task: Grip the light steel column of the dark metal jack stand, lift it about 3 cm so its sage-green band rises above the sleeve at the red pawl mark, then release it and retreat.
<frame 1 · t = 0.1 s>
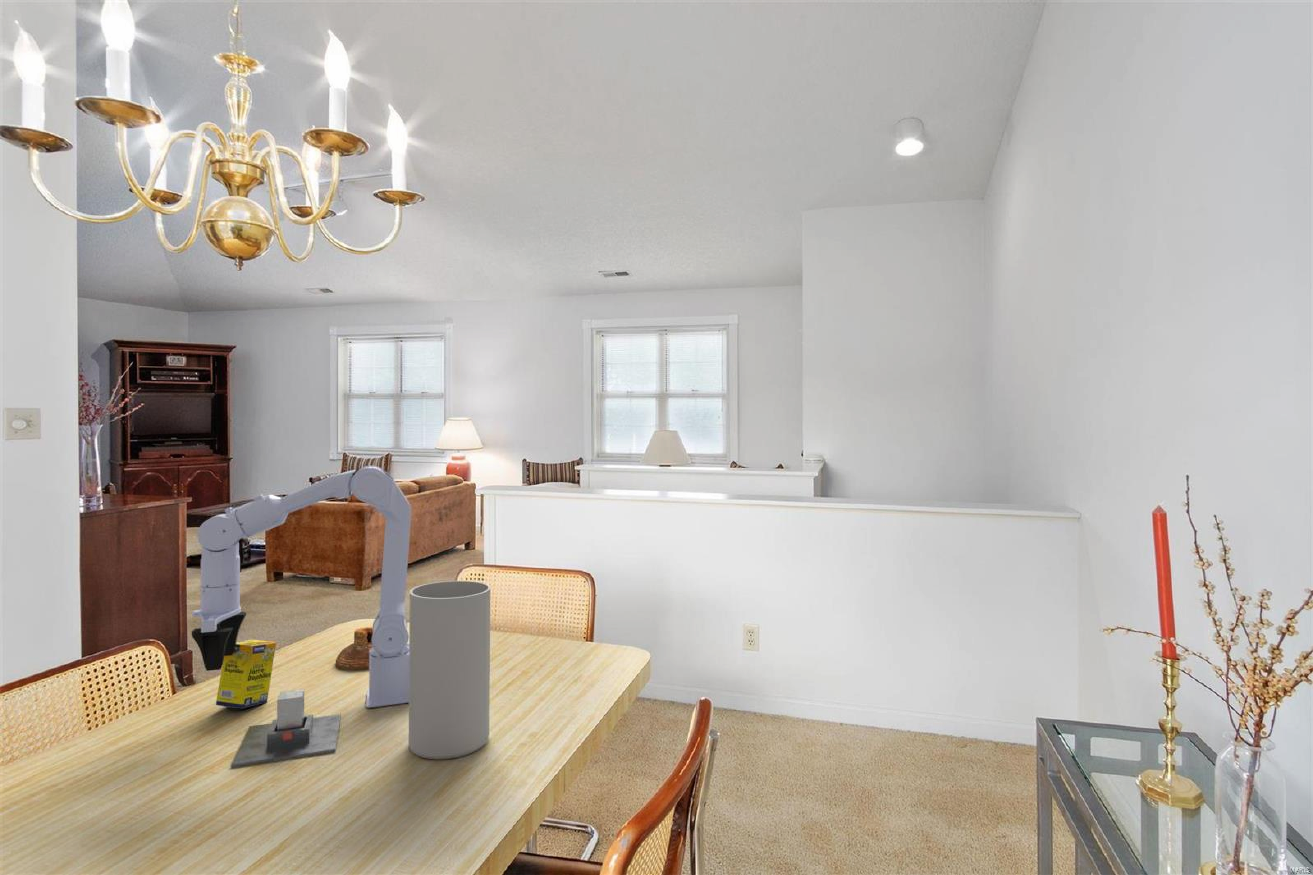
hand: (220, 662, 116), 10 cm above the table, fingers open, 7 cm apart
stand base: (290, 740, 109), on the table
cylinder vase: (449, 744, 109), on the table
supplement box: (241, 705, 122), on the table, touching gripper
bell: (364, 663, 147), on the table
column: (290, 715, 109), point 4 cm above the table, slide at 0.0 cm
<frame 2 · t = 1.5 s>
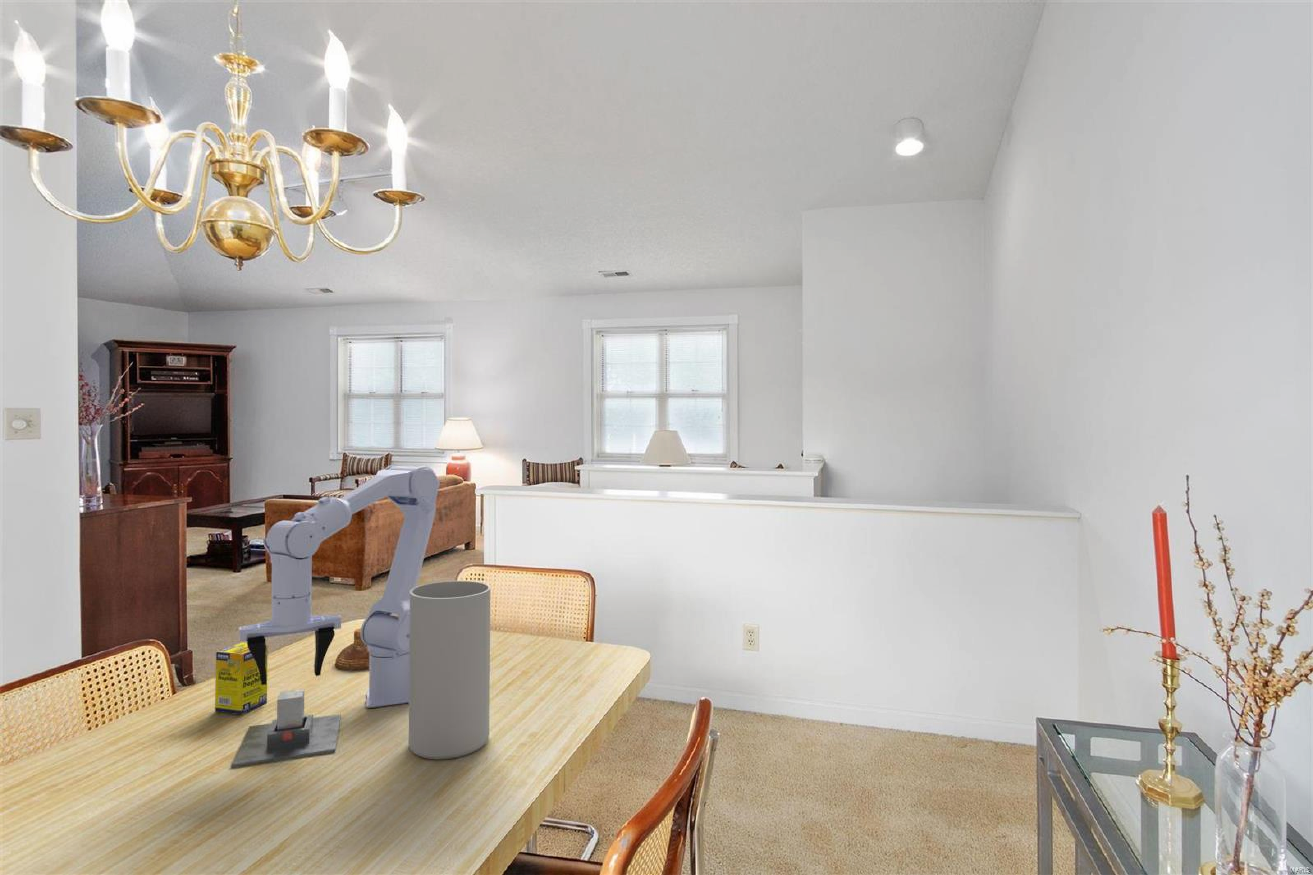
hand: (291, 678, 109), 10 cm above the table, fingers open, 7 cm apart
supplement box: (241, 708, 122), on the table
everything else where it was.
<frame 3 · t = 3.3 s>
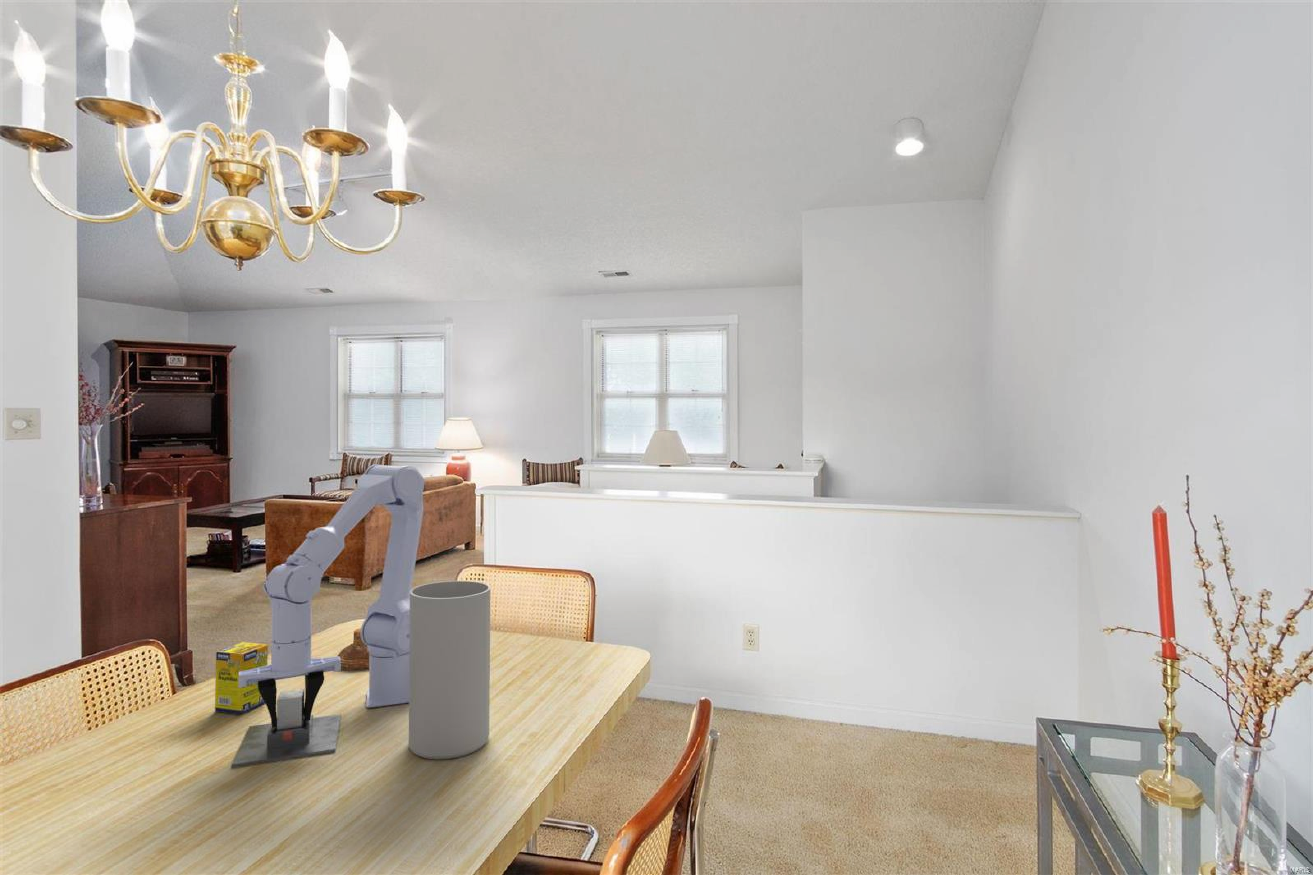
hand: (290, 721, 109), 3 cm above the table, fingers closed on column, 4 cm apart
column: (290, 715, 109), point 4 cm above the table, slide at 0.0 cm, touching gripper
everything else where it was.
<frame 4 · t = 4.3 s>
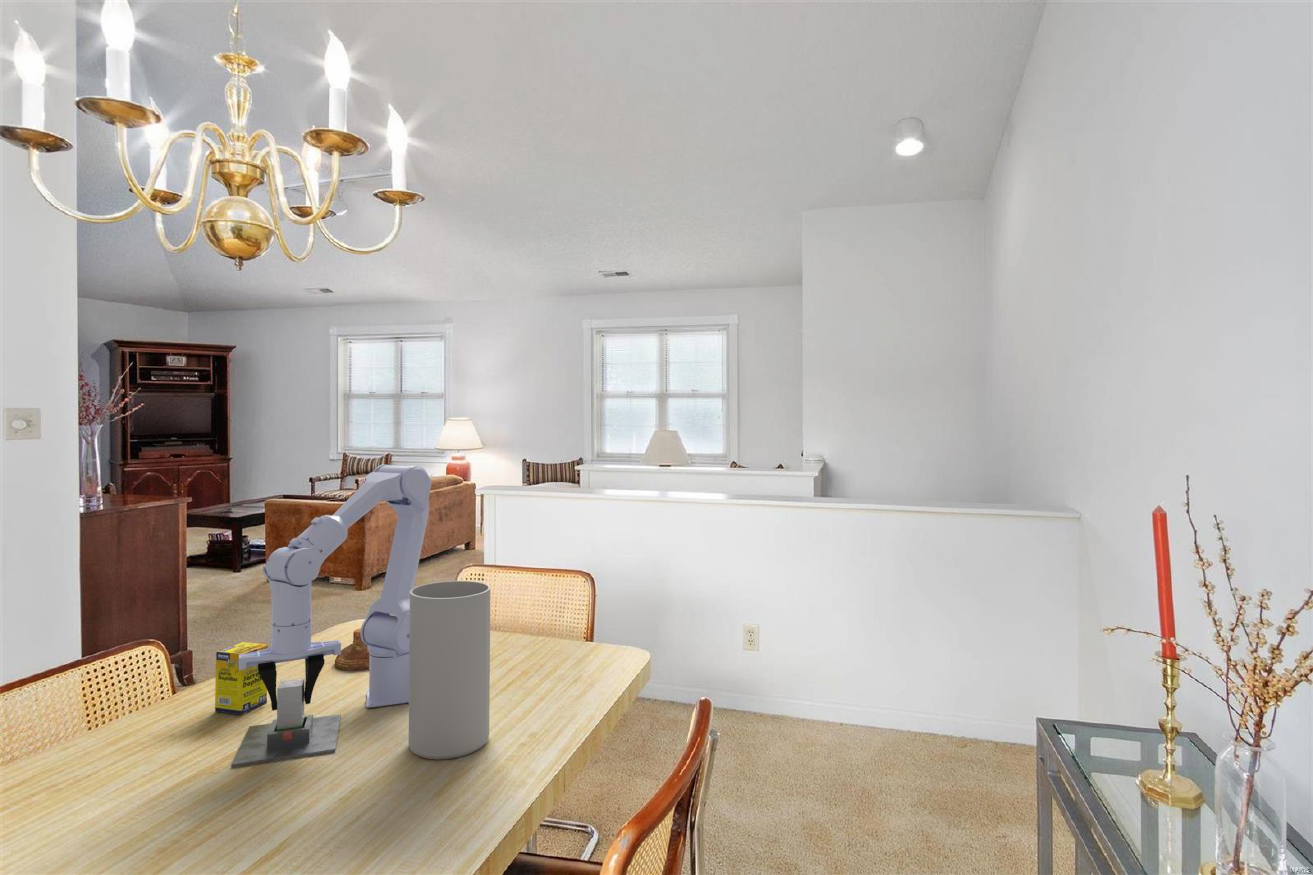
hand: (291, 705, 109), 6 cm above the table, fingers closed on column, 4 cm apart
column: (291, 704, 109), point 6 cm above the table, slide at 1.8 cm, touching gripper
everything else where it was.
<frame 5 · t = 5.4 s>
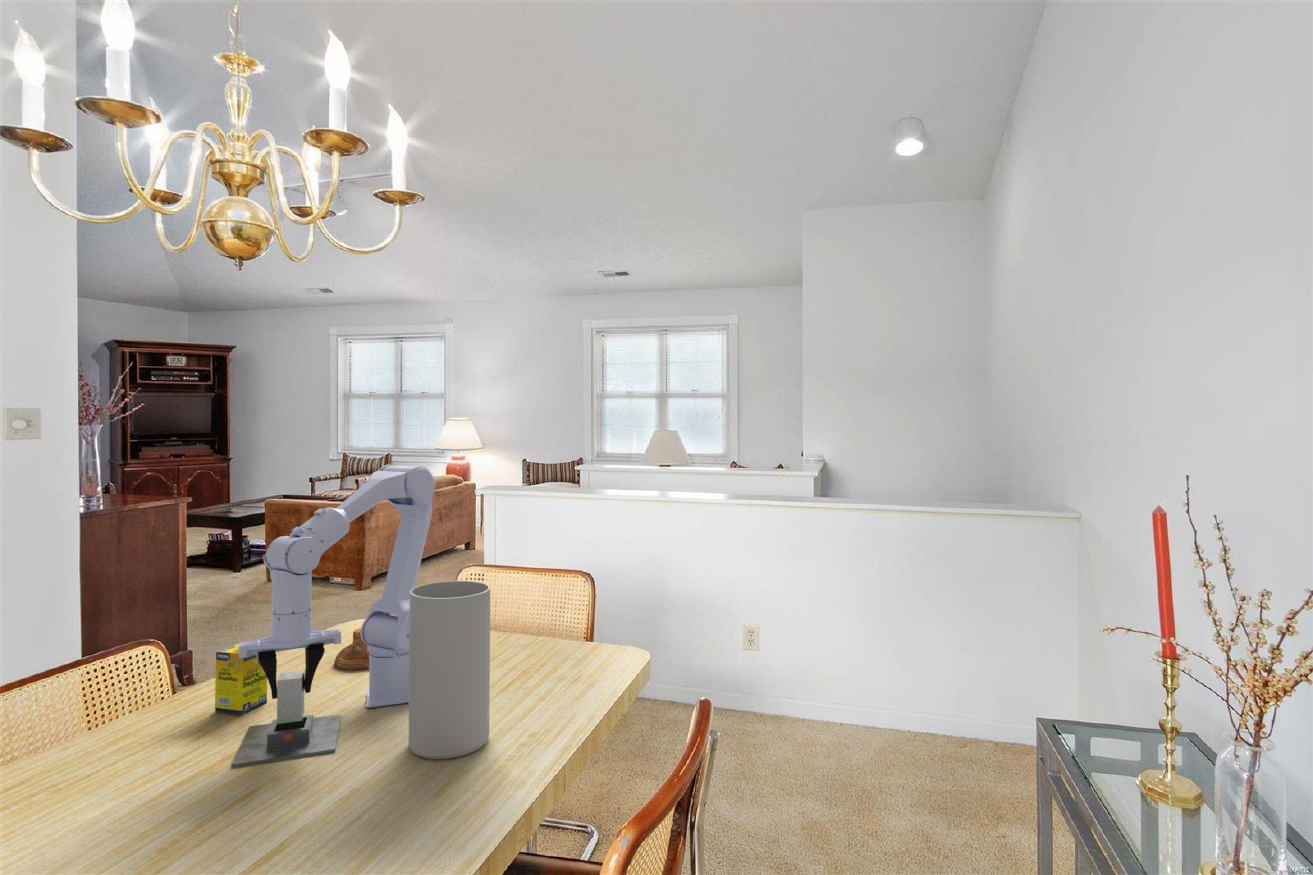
hand: (291, 693, 109), 8 cm above the table, fingers closed on column, 4 cm apart
column: (291, 696, 109), point 7 cm above the table, slide at 3.0 cm, touching gripper
everything else where it was.
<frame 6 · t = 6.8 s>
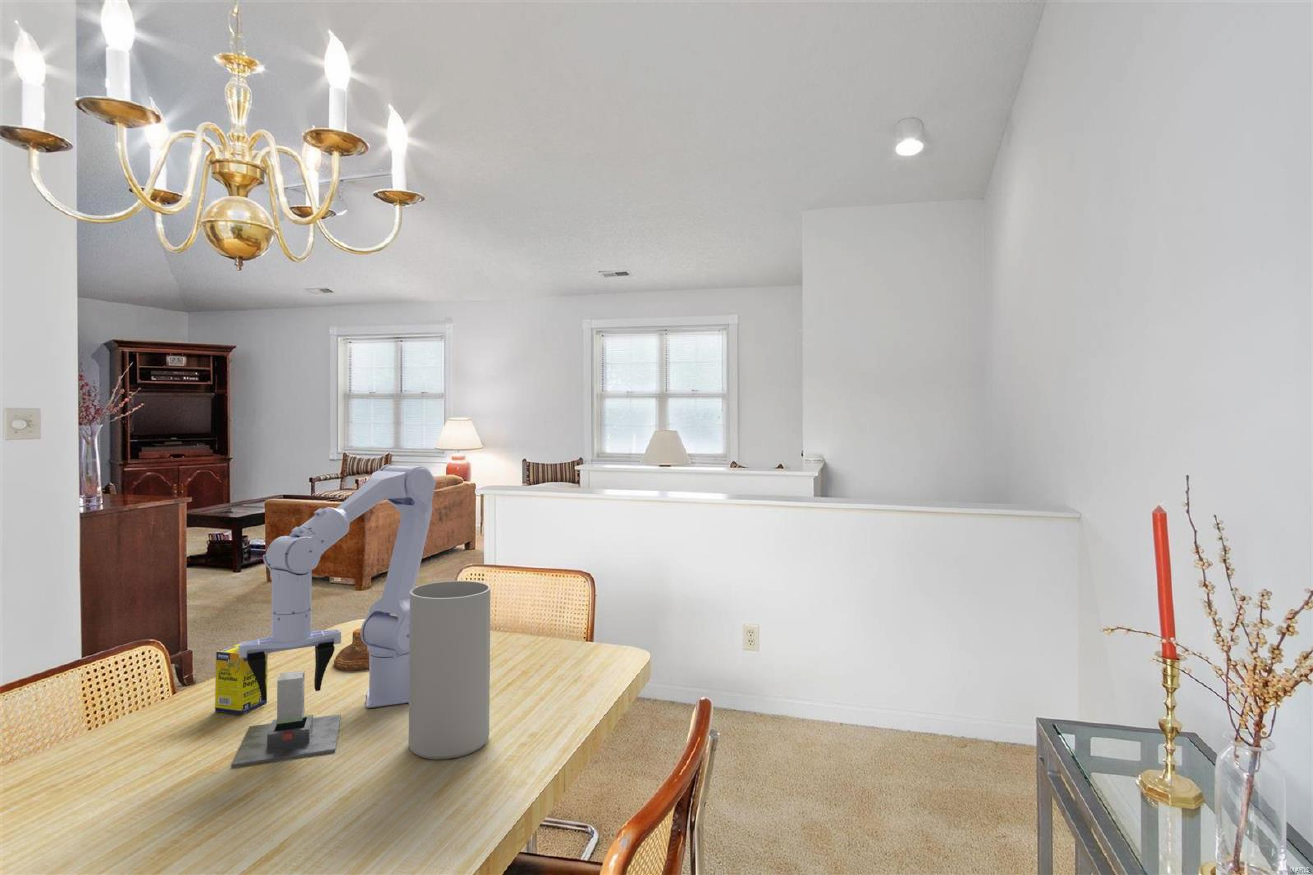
hand: (291, 693, 109), 8 cm above the table, fingers open, 7 cm apart
column: (291, 696, 109), point 7 cm above the table, slide at 3.0 cm
everything else where it was.
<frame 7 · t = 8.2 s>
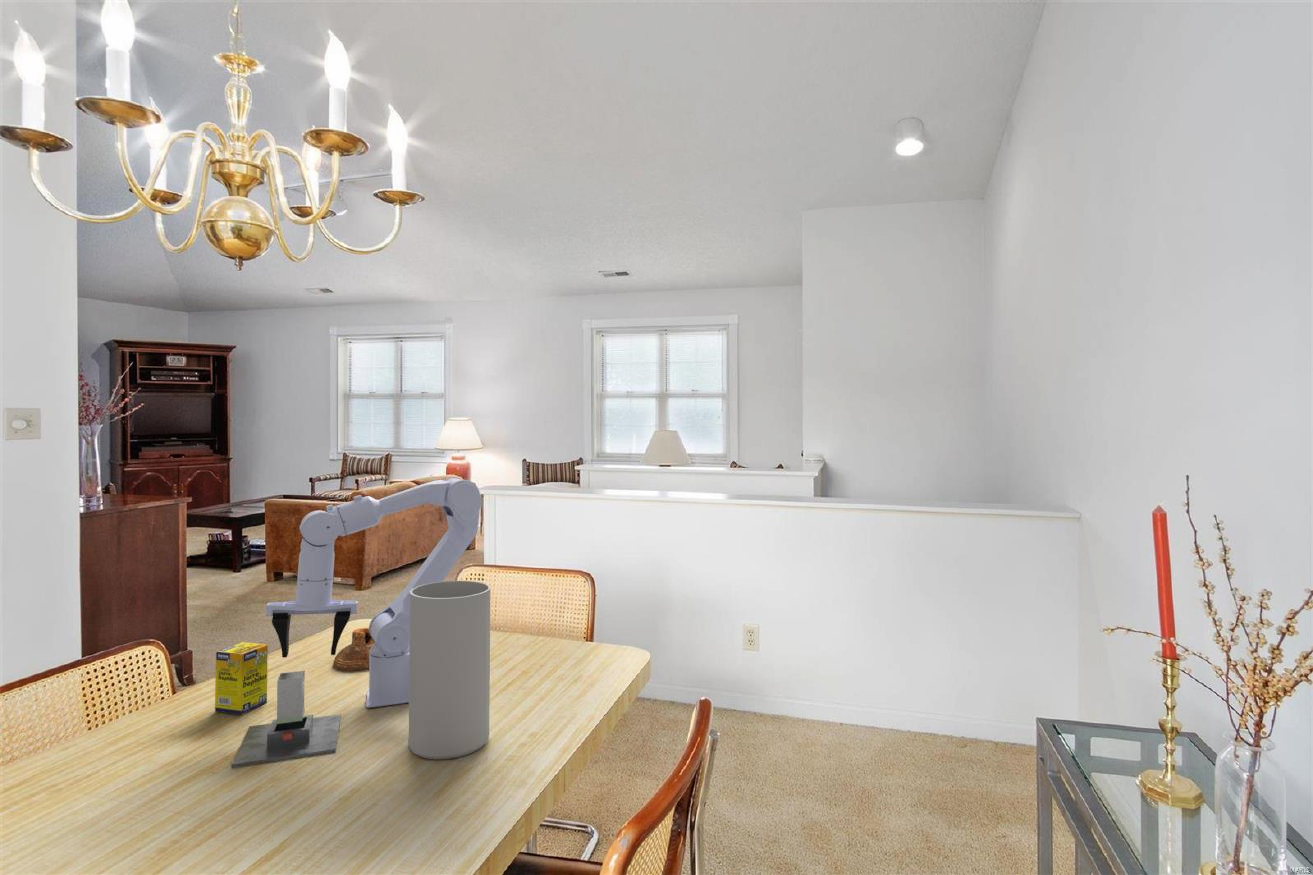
hand: (309, 654, 120), 10 cm above the table, fingers open, 7 cm apart
nothing on the table moved.
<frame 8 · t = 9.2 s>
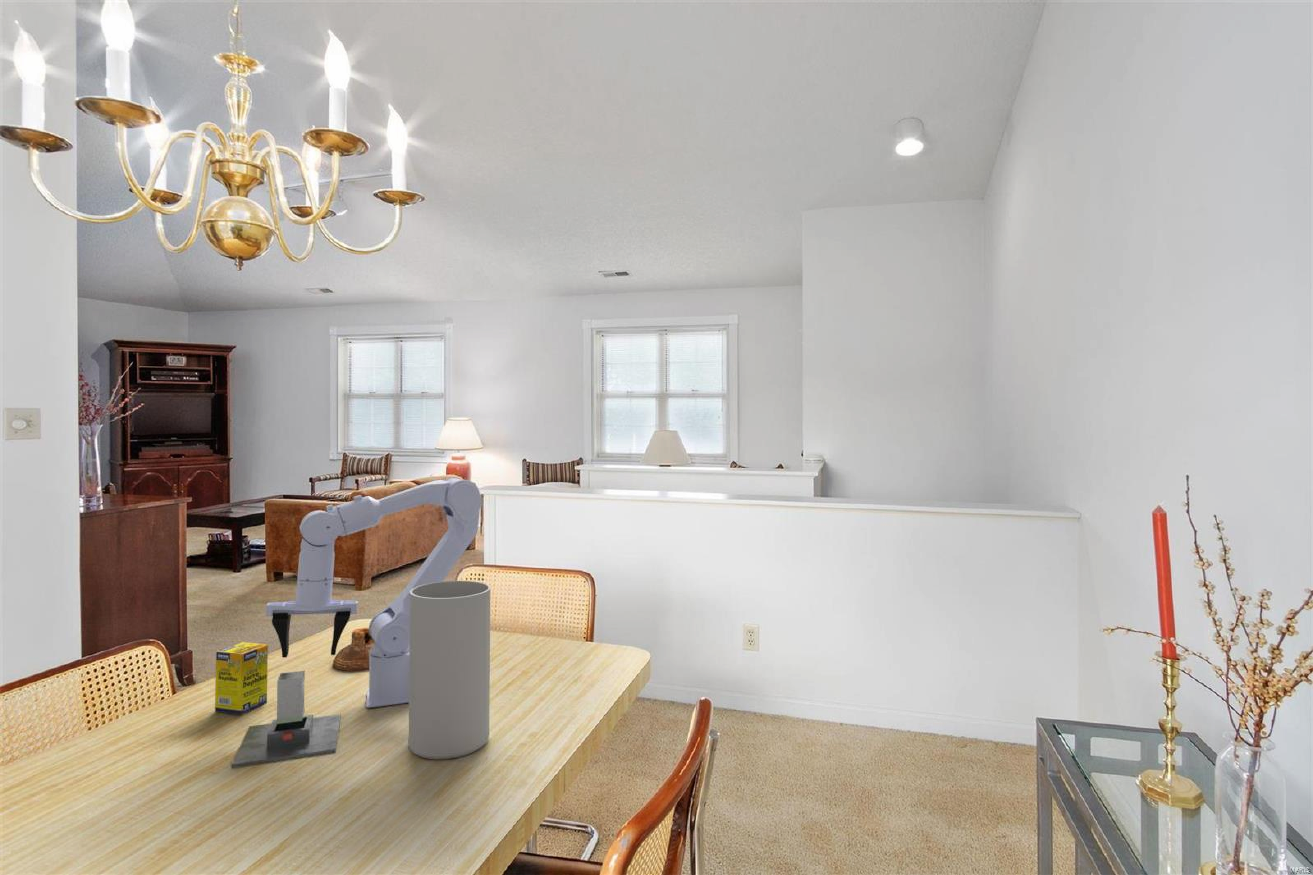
hand: (309, 654, 120), 10 cm above the table, fingers open, 7 cm apart
nothing on the table moved.
at the end: column slide at 3.0 cm; the gripper is holding nothing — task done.
